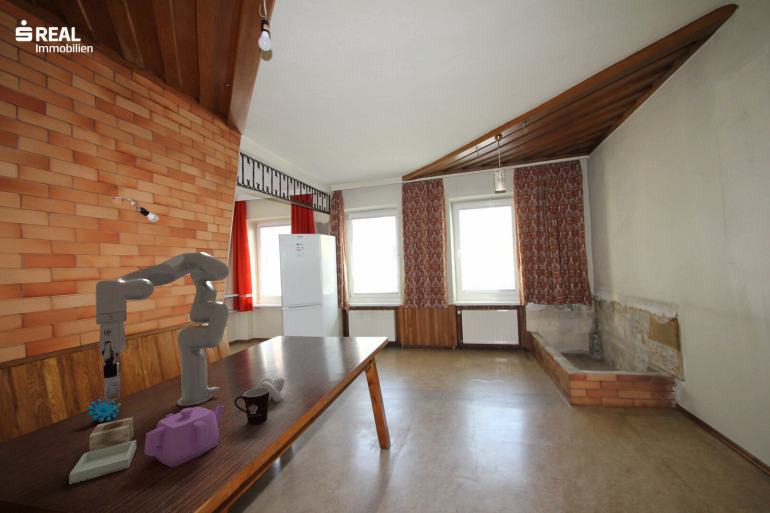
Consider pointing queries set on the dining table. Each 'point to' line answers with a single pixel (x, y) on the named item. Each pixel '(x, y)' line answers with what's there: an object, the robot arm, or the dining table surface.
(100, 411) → the gear
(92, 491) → the dining table surface
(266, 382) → the grey torus knot
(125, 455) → the tray
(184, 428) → the teakettle
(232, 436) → the dining table surface
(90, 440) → the socket block
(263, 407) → the coffee mug
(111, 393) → the metal peg
